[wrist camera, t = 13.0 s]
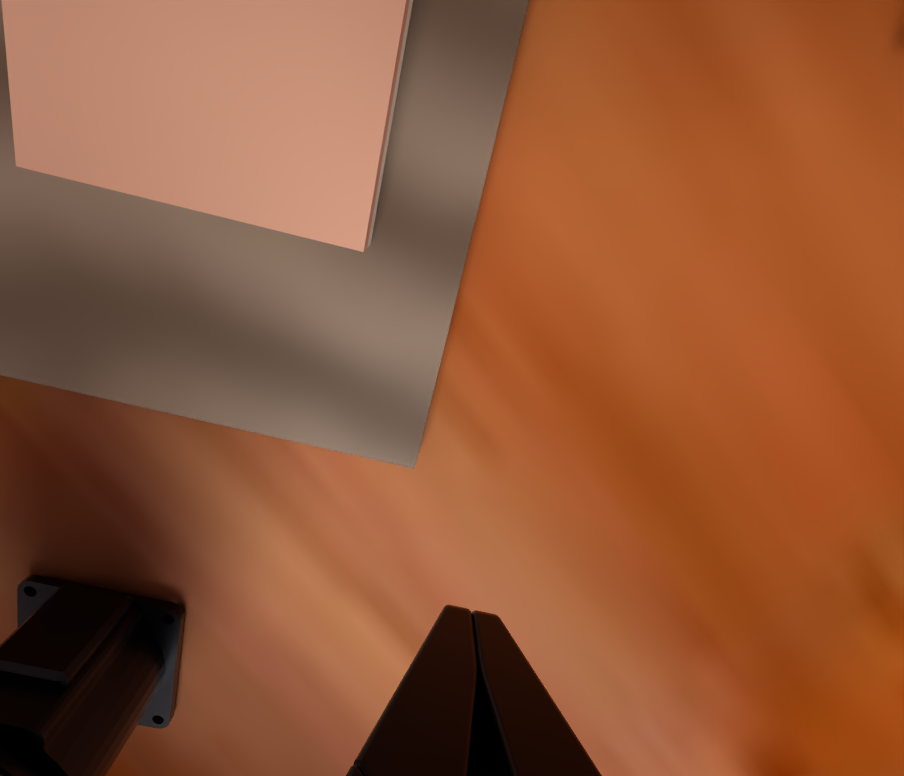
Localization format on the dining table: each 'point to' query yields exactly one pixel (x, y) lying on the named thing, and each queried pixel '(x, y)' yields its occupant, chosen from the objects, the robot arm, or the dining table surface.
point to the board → (268, 271)
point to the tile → (214, 104)
